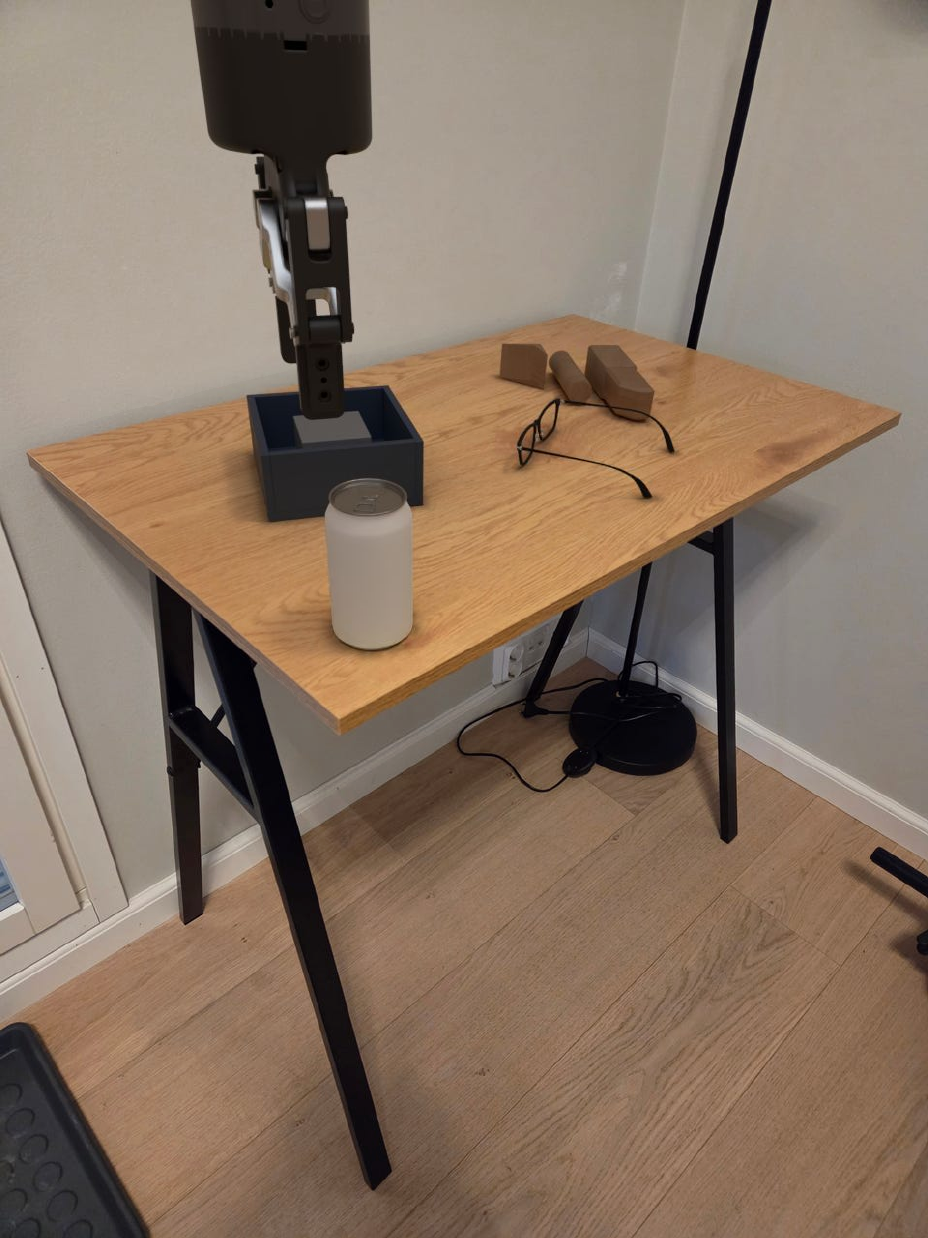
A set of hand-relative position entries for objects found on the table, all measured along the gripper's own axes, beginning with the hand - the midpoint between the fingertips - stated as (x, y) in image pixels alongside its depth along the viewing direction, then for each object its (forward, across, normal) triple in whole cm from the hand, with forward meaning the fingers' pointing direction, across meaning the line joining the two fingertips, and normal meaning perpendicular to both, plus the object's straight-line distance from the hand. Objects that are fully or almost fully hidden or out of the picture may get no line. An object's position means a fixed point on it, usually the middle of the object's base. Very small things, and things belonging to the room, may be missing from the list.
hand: (311, 386), depth 44 cm
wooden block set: (+23, -51, +41) cm, 69 cm away
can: (+23, -7, +4) cm, 25 cm away
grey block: (+22, -34, +6) cm, 41 cm away
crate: (+23, -34, +6) cm, 41 cm away
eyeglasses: (+23, -32, +36) cm, 53 cm away
